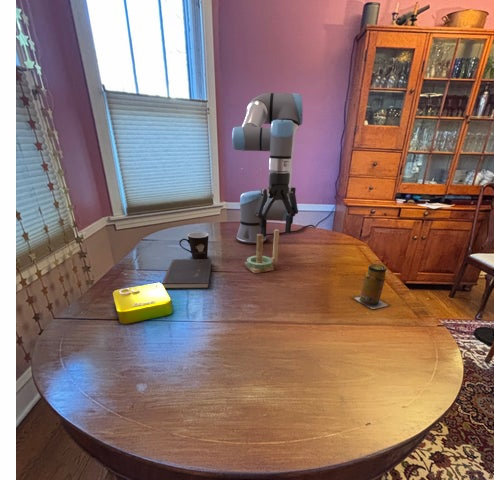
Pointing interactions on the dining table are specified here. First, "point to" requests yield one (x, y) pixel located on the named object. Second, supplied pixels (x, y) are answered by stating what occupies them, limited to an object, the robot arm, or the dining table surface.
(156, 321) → the dining table surface
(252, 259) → the hoop
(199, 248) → the coffee mug
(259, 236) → the post
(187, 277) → the hardcover book
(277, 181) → the robot arm
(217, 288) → the dining table surface
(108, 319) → the dining table surface
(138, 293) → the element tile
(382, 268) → the condiment
